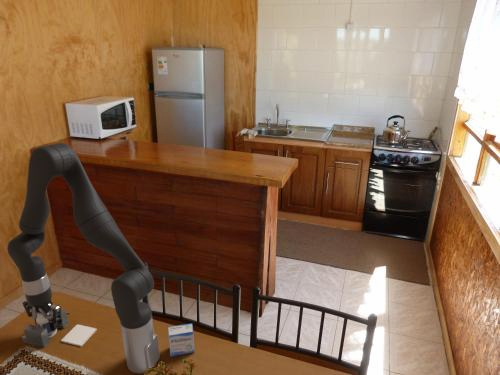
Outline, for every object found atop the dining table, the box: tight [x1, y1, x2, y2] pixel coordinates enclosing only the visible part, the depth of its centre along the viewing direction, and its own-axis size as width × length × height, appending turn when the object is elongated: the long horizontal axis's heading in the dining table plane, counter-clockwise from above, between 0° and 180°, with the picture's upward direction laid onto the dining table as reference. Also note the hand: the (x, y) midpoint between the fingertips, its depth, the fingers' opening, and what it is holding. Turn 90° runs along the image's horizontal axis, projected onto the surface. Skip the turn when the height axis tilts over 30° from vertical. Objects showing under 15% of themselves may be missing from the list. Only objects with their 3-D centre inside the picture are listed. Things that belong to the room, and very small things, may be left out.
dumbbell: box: [21, 309, 70, 349], centre depth 131 cm, size 9×14×6 cm, turn 164°
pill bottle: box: [36, 311, 58, 339], centre depth 129 cm, size 5×5×10 cm
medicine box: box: [167, 323, 196, 357], centre depth 122 cm, size 8×4×9 cm, turn 104°
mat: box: [60, 324, 98, 347], centre depth 129 cm, size 8×8×1 cm
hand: (47, 327), depth 130 cm, fingers closed on pill bottle, 5 cm apart
